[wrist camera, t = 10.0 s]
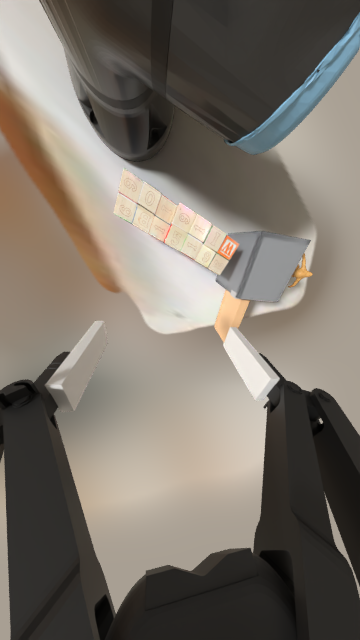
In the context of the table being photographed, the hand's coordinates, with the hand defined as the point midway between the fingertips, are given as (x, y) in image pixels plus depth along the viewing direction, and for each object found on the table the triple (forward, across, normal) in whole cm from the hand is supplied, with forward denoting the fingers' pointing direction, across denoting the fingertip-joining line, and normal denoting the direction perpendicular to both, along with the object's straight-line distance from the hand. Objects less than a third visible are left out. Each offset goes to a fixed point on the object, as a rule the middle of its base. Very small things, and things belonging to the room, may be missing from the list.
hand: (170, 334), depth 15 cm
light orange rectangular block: (+26, +20, -9) cm, 34 cm away
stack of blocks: (+27, +2, +10) cm, 29 cm away
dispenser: (+27, +20, +6) cm, 34 cm away
